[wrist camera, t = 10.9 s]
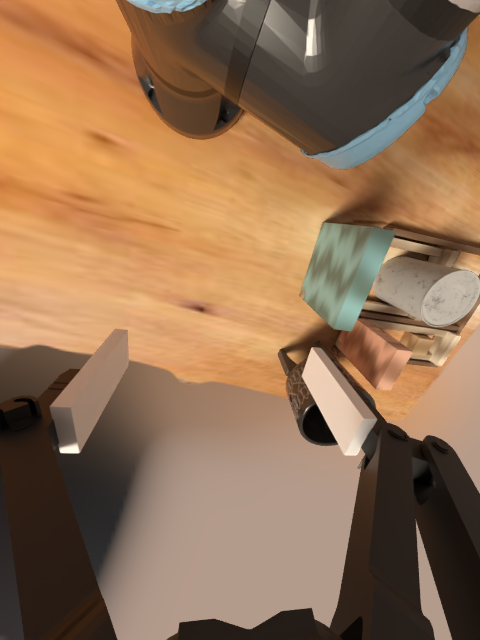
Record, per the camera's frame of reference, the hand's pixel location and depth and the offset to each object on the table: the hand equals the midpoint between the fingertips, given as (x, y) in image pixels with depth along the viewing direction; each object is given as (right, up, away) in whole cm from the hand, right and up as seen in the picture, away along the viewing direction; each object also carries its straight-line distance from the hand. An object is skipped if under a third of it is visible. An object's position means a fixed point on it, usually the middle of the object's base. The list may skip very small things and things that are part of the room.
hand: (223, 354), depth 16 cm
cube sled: (+36, -1, +37) cm, 51 cm away
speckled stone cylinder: (+33, +11, +31) cm, 47 cm away
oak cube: (+41, -2, +38) cm, 56 cm away
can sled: (+27, +12, +29) cm, 42 cm away
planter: (+15, -6, +37) cm, 40 cm away
